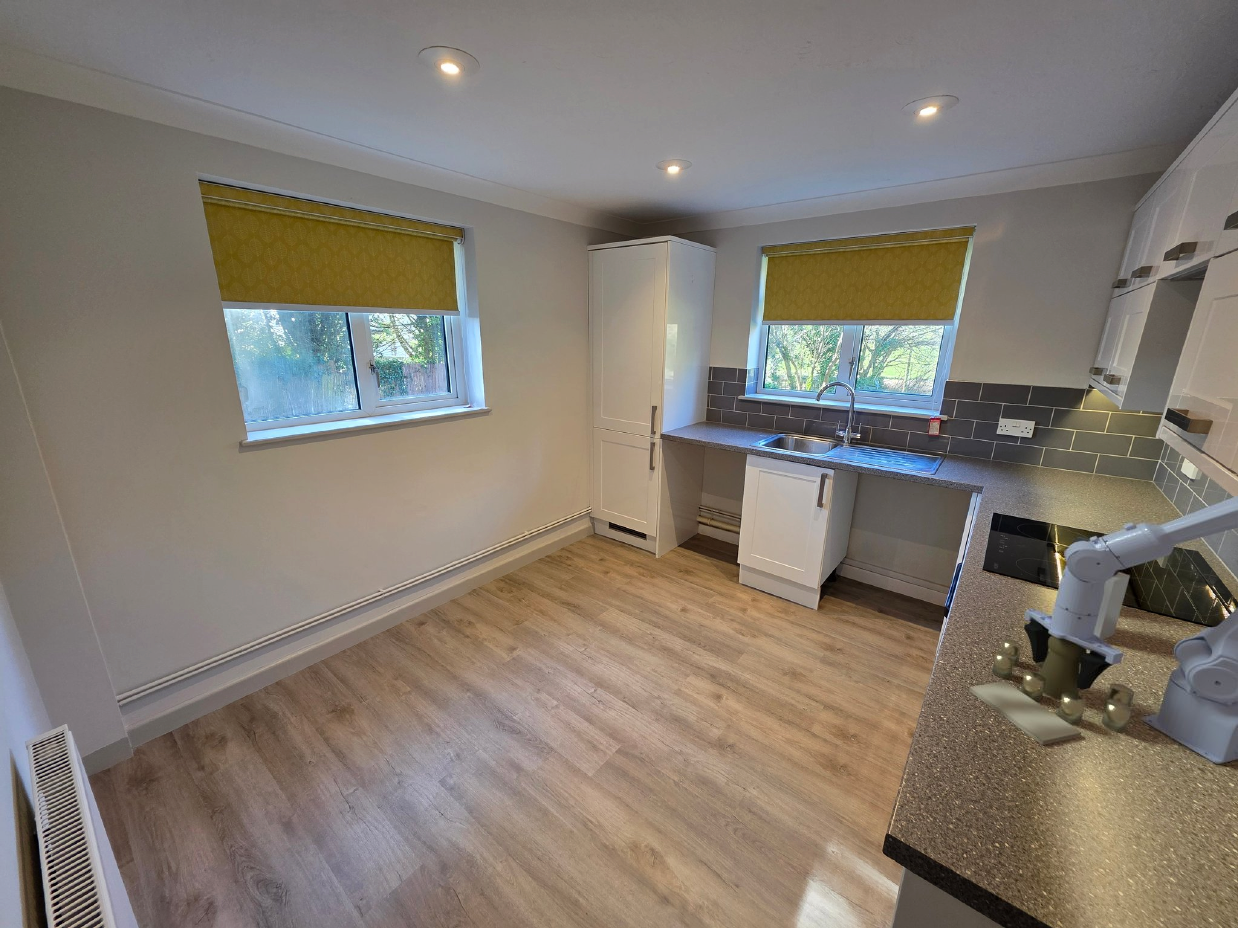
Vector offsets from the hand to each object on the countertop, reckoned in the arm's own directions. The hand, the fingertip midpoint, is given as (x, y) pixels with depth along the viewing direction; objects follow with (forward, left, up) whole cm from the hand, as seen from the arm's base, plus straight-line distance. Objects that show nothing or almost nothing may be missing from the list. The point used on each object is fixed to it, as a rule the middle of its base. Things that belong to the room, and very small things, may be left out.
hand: (1060, 673), depth 90 cm
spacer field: (0, 0, -3) cm, 3 cm away
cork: (0, 0, -4) cm, 4 cm away
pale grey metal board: (-3, +12, -3) cm, 13 cm away
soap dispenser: (+15, -28, -4) cm, 32 cm away
